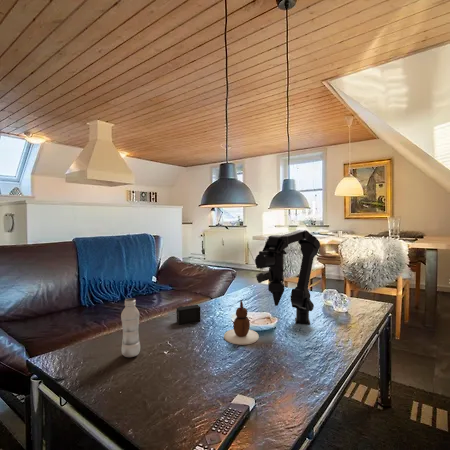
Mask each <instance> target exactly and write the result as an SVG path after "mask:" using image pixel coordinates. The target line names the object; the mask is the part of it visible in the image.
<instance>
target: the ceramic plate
mask: <svg viewBox="0 0 450 450" xmlns="http://www.w3.org/2000/svg"><path fill="white" fill-rule="evenodd" d="M259 336H260V335H259V334H258V332H256V331H255V330H252V329H249V331H248V334H247V335H246V336H244V337H239V336H237V335H236V334H235V331H234V328H232V329H229V330H227V331H226V332H225V333H224V335H223V338H224V340H225V341H226V342H227V343H230V344H233V345H240V346H245V345H251V344H254V343H257V342H258V340H259Z"/></svg>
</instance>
